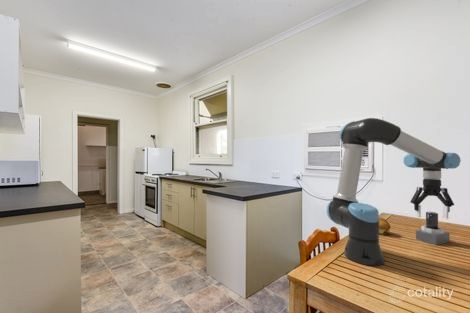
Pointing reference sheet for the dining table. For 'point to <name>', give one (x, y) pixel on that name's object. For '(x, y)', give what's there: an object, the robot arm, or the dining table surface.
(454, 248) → the dining table surface
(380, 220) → the orange brown stemmed fruit
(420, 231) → the block
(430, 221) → the lens
